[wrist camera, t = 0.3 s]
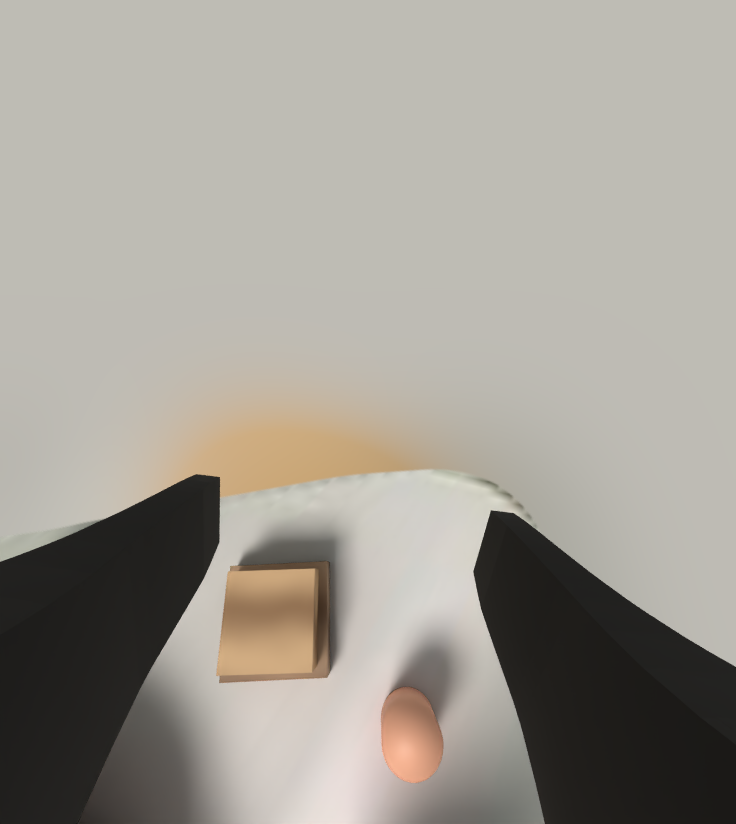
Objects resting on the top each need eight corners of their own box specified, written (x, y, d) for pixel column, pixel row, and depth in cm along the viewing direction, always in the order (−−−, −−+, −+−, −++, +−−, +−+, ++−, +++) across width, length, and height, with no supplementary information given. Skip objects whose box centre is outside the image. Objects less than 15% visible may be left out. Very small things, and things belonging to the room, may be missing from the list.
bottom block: (330, 671, 33) (327, 677, 31) (230, 675, 34) (219, 682, 31) (330, 562, 37) (327, 561, 35) (239, 566, 37) (230, 566, 35)
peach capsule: (436, 750, 31) (447, 781, 26) (382, 753, 31) (383, 784, 26) (430, 685, 32) (439, 703, 28) (379, 687, 32) (379, 706, 28)
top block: (316, 666, 32) (312, 672, 29) (228, 668, 32) (216, 675, 29) (318, 569, 35) (314, 568, 32) (237, 572, 35) (227, 571, 32)
